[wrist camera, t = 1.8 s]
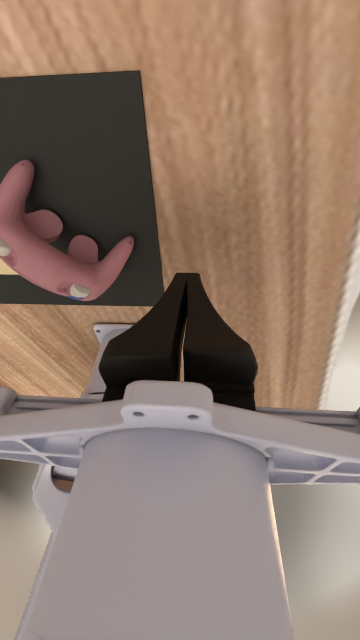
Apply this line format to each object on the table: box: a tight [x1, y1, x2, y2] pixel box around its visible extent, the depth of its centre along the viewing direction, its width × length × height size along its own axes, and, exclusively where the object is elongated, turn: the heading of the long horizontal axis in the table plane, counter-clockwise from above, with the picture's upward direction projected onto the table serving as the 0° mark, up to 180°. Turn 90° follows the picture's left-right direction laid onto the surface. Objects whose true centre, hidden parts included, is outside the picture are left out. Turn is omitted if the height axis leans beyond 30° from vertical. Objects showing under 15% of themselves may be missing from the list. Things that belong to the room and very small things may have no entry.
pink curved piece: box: [0, 160, 134, 301], centre depth 19 cm, size 10×5×7 cm, turn 50°
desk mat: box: [0, 71, 164, 306], centre depth 21 cm, size 18×26×1 cm
